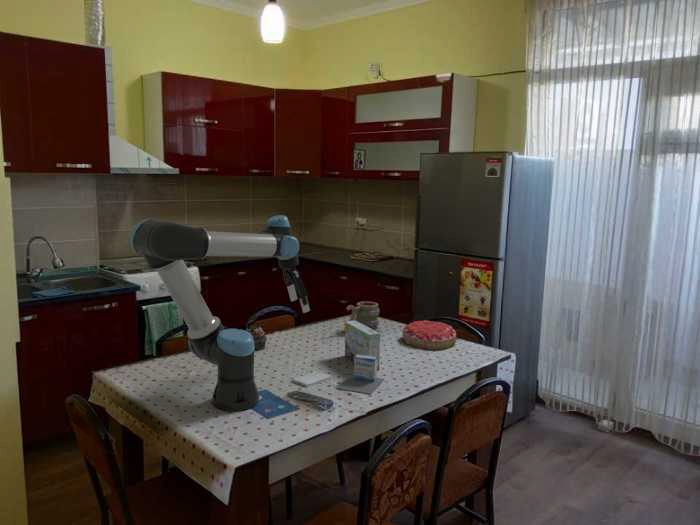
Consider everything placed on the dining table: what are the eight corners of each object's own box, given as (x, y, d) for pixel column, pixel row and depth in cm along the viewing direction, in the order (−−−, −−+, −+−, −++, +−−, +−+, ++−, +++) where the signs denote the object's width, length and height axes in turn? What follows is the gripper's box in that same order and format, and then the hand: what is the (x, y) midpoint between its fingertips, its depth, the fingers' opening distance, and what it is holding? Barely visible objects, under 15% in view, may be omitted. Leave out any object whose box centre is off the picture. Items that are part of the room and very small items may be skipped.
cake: (428, 329, 278) (428, 313, 276) (467, 343, 259) (468, 327, 257) (391, 340, 263) (392, 324, 261) (430, 356, 244) (431, 339, 242)
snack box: (343, 355, 235) (344, 321, 233) (355, 354, 238) (356, 319, 236) (367, 371, 217) (369, 334, 215) (380, 369, 219) (381, 332, 217)
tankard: (367, 326, 283) (368, 297, 280) (384, 332, 273) (386, 302, 271) (336, 332, 270) (337, 302, 268) (353, 339, 260) (354, 307, 258)
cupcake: (262, 352, 237) (263, 329, 235) (241, 350, 238) (241, 327, 237) (269, 345, 246) (269, 323, 245) (248, 344, 248) (248, 322, 246)
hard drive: (315, 370, 213) (291, 378, 204) (331, 375, 208) (307, 384, 198) (315, 374, 213) (291, 383, 204) (330, 380, 208) (307, 388, 199)
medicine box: (353, 379, 207) (354, 357, 205) (356, 375, 211) (357, 353, 210) (374, 382, 205) (375, 359, 204) (376, 378, 209) (377, 355, 208)
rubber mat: (370, 394, 194) (370, 393, 194) (336, 388, 198) (336, 387, 198) (384, 379, 208) (384, 378, 208) (351, 374, 213) (351, 373, 213)
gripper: (308, 261, 199) (321, 313, 207) (285, 245, 221) (298, 292, 229) (288, 268, 197) (302, 320, 205) (267, 251, 218) (281, 298, 226)
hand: (300, 305), depth 217 cm, fingers open, 13 cm apart
